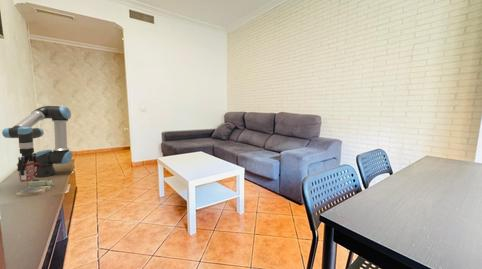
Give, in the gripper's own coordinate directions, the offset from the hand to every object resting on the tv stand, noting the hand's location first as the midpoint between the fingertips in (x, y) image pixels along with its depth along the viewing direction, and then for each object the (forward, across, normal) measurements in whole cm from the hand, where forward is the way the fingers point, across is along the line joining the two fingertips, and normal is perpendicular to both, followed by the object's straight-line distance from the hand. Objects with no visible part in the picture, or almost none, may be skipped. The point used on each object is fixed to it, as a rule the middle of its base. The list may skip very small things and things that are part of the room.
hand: (29, 177), depth 160 cm
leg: (+10, +9, -1) cm, 14 cm away
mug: (+2, 0, 0) cm, 2 cm away
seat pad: (+10, 0, 0) cm, 10 cm away
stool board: (+12, +4, -2) cm, 13 cm away
